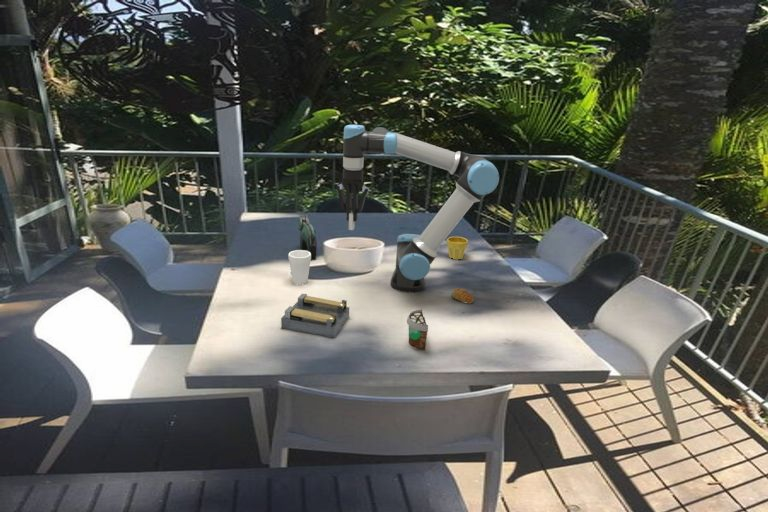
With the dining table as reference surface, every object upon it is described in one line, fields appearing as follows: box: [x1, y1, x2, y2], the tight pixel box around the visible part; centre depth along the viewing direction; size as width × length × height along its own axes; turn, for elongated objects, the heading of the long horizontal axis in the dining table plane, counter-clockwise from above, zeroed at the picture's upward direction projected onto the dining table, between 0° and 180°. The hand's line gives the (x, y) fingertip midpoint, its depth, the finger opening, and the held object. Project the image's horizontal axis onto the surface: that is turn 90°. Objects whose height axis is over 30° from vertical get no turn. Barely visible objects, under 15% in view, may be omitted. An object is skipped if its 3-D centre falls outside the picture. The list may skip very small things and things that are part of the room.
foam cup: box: [288, 249, 312, 286], centre depth 207 cm, size 10×9×13 cm
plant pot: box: [446, 236, 469, 260], centre depth 245 cm, size 10×10×10 cm
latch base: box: [280, 293, 350, 339], centre depth 176 cm, size 20×17×7 cm
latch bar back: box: [304, 295, 346, 308], centre depth 180 cm, size 15×3×2 cm, turn 75°
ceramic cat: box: [297, 213, 318, 261], centre depth 238 cm, size 20×6×20 cm, turn 23°
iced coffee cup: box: [406, 309, 429, 351], centre depth 166 cm, size 12×6×10 cm, turn 5°
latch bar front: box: [291, 308, 335, 322], centre depth 170 cm, size 15×3×2 cm, turn 75°
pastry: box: [451, 287, 475, 304], centre depth 201 cm, size 9×7×4 cm
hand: (351, 228), depth 187 cm, fingers closed
